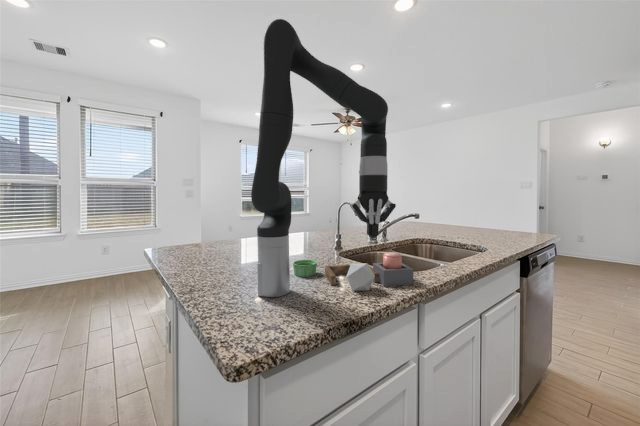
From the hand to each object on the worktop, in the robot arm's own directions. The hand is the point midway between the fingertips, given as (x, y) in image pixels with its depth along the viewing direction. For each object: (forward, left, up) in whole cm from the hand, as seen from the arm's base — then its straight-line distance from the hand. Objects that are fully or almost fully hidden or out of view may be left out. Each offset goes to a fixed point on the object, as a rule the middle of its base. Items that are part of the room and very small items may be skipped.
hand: (372, 237), depth 77 cm
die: (-1, +8, -17) cm, 19 cm away
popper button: (+12, +14, -14) cm, 23 cm away
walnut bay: (-1, +19, -17) cm, 26 cm away
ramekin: (-16, +28, -17) cm, 37 cm away
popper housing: (+12, +14, -17) cm, 25 cm away
